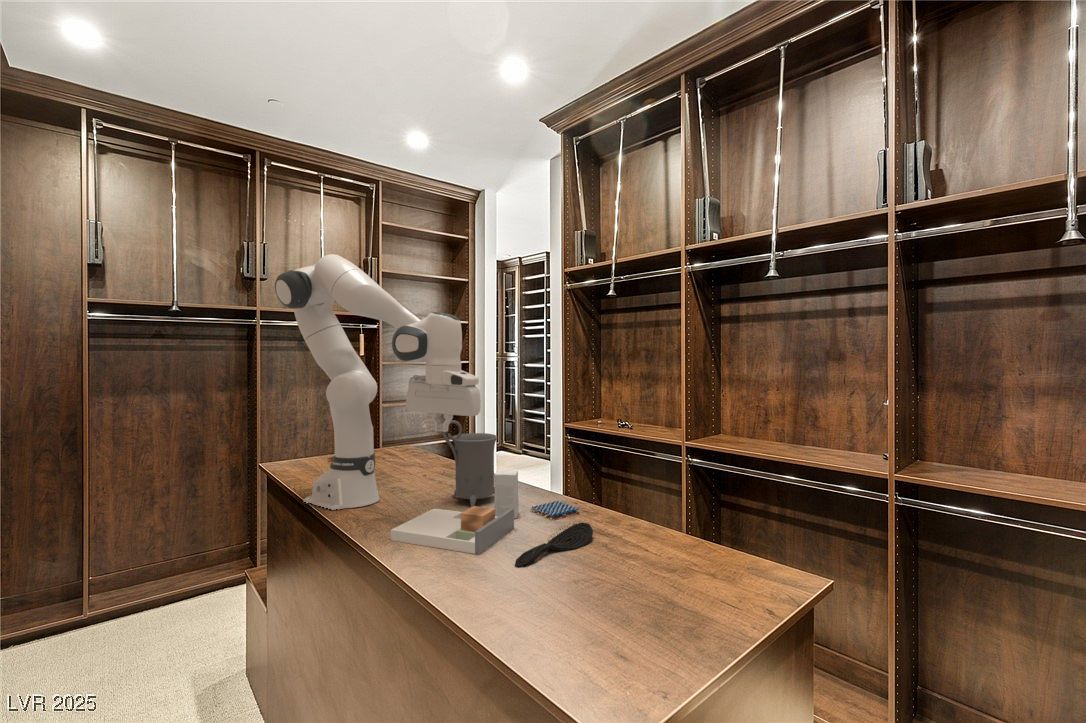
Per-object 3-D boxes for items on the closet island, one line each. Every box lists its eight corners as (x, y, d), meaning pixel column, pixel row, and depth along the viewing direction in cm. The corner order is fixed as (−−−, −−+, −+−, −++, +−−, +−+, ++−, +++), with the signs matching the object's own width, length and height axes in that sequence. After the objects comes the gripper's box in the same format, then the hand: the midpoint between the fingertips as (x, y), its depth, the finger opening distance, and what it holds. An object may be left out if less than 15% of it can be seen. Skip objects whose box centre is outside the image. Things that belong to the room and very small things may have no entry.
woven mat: (557, 506, 149) (557, 499, 149) (581, 515, 141) (581, 508, 141) (528, 513, 143) (528, 505, 143) (551, 523, 135) (551, 515, 135)
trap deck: (390, 540, 121) (390, 519, 121) (434, 517, 138) (433, 499, 138) (479, 554, 112) (478, 532, 112) (514, 528, 129) (513, 508, 129)
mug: (489, 491, 164) (488, 414, 164) (511, 502, 152) (510, 418, 151) (433, 500, 154) (432, 418, 154) (452, 513, 142) (451, 423, 141)
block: (460, 530, 121) (460, 513, 121) (473, 522, 126) (473, 506, 126) (483, 533, 119) (483, 516, 119) (495, 525, 124) (494, 508, 124)
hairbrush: (501, 551, 108) (573, 515, 127) (502, 567, 109) (573, 530, 127) (530, 561, 103) (600, 523, 122) (531, 579, 103) (601, 538, 122)
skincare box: (518, 514, 141) (518, 471, 140) (516, 519, 136) (516, 474, 136) (497, 513, 141) (496, 470, 141) (494, 518, 137) (493, 474, 137)
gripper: (401, 375, 129) (399, 429, 130) (471, 379, 122) (470, 436, 122) (416, 374, 135) (414, 426, 136) (484, 378, 128) (482, 433, 128)
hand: (441, 431), depth 129 cm, fingers closed
